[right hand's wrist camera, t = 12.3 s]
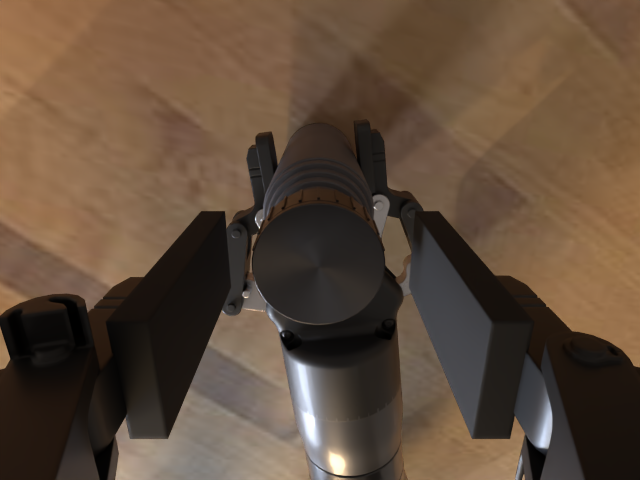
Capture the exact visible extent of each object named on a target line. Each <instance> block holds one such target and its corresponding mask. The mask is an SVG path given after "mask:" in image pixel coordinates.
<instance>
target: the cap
mask: <svg viewBox="0 0 640 480" xmlns="http://www.w3.org/2000/svg"><path fill="white" fill-rule="evenodd" d="M257 234H258V236H257V238H256V241H255V243H254V246H253V249H252V251H253V256H252V272H253V277H254V281H255V284H256V286H257V288H258V290H259V292H260V294H261V295H262V297H263V298H264V299H265V301H266V302H267V303H268V304H269V305H270V306H271V307H272V308H273V309H275V310H276V311H277V312H279V313H280V314H282V315H283V316H285V317H287V318H289V319H292V320H294V321H297V322H301V323H306V324H314V325H323V324H331V323H336V322H340V321H343V320H345V319H348V318H350V317H352V316H354V315H355V314H357V313H358V312H360V311H361V310H363V309H364V308H365V307H366V306H367V305H368V304H369V303H370V302H371V301H372V299H373V298H374V297H375V295H376V294H377V292H378V290H379V288H380V286H381V284H382V281H383V277H384V272H385V256H384V251H385V249H384V246H383V243H382V241H381V238H380V233H379V231H378V228H377V225H376V223H375V220H372V219H371V217H370V215H369V214H368V212H367V209H366V207H365V206H364V207H362V206H361V205H360V204H359V203H358V202H357V201H355V200H354V198H353V197H352V196H351V197H349V196H347V195H345V194H343V193H340V192H338V191H337V190H336V189H335V191H334V190H329V189H320V187H317V189H309V190H303V189H301V190H300V192H297V193H294V194H292V195H290V196H288V197H287V196H285V197H284V199H283V200H282V201H280V202H279V203H278V204H277V205H276V206H275V207H274V206H272V207H271V210H270V213H269V214H268V216H267V217H266V219H265V220H264V219H263V221H262V223H261V226H260V228H259V231H258V233H257Z"/></svg>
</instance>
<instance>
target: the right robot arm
mask: <svg viewBox="0 0 640 480" xmlns="http://www.w3.org/2000/svg"><path fill="white" fill-rule="evenodd" d="M230 289H231V278H230V266H229V254H228V243H227V231H226V219H225V211H201V212H200V213H199V214H198V216H197V217H196V218H195V219H194V220H193V221H192V223H191V224H190V225H189V226H188V227H187V228H186V229H185V231H184V232H183V233H182V234H181V235H180V236H179V237H178V239H177V240H176V241H175V242H174V243H173V244H172V246H171V247H170V248H169V249H168V250H167V251H166V252H165V254H164V255H163V256H162V257H161V258H160V259H159V260H158V262H157V263H156V264H155V265H154V266H153V267H152V269H151V270H150V271H149V272H148V273H147V274H146V275H145V277H130V278H128V279H126V280H125V281H123V282H121V283H119V284H117V285H115V286H114V287H113V288H112V289H111V290H110V291H109V292H108V293H107V294H106V295H105V296H104V297H103V299H101V300H100V301H99V302H98V303H97V304H96V305H95V306H94V309H91V310H90V311H89V312H88V313H87V308H86V304H85V300H84V299H83V298H81V297H80V296H78V295H72V294H52V295H47V296H42V297H37V298H34V299H31V300H28V301H25V302H22V303H19V304H17V305H16V306H14V307H12V308H10V309H8V310H6V311H5V312H4V313H3V314H2V315H1V316H0V327H1V330H2V334H3V337H4V340H5V343H6V346H7V349H8V353H9V356H10V361H9V363H8V365H7V366H6V368H5V369H1V370H0V480H115V476H116V469H117V462H118V455H119V452H118V445H117V441H116V436H115V434H116V432H117V431H118V429H119V427H120V425H121V424H122V422H123V420H124V418H125V417H126V422H127V427H128V431H129V436H130V439H168V437H169V435H170V432H171V430H172V428H173V425H174V423H175V420H176V418H177V416H178V413H179V411H180V408H181V406H182V404H183V401H184V399H185V396H186V394H187V392H188V389H189V387H190V384H191V382H192V380H193V377H194V375H195V373H196V370H197V368H198V365H199V363H200V361H201V358H202V356H203V353H204V351H205V349H206V346H207V344H208V341H209V339H210V337H211V334H212V332H213V329H214V327H215V325H216V322H217V320H218V318H219V315H220V313H221V310H222V308H223V306H224V303H225V301H226V298H227V296H228V294H229V291H230ZM409 289H410V291H411V294H412V296H413V298H414V301H415V303H416V306H417V308H418V310H419V313H420V315H421V318H422V320H423V322H424V325H425V327H426V329H427V332H428V334H429V337H430V339H431V341H432V344H433V346H434V349H435V351H436V353H437V356H438V358H439V361H440V363H441V365H442V368H443V370H444V373H445V375H446V377H447V380H448V382H449V385H450V387H451V389H452V392H453V394H454V396H455V399H456V401H457V404H458V406H459V408H460V411H461V413H462V416H463V418H464V420H465V423H466V425H467V428H468V430H469V432H470V435H471V437H472V439H510V436H511V431H512V427H513V422H514V417H515V416H516V418H517V420H518V421H519V423H520V425H521V427H522V428H523V430H524V432H525V436H524V441H523V445H522V449H521V454H520V458H519V463H518V467H517V472H516V477H515V480H522V477H523V475H525V480H640V368H639V367H635V366H633V364H632V362H631V360H630V359H629V358H628V356H627V355H626V354H625V353H624V352H623V351H622V350H621V349H619V348H618V347H616V346H615V345H613V344H612V343H610V342H608V341H606V340H603V339H601V338H598V337H596V336H593V335H589V334H585V333H581V332H572V331H571V330H570V329H569V328H568V327H567V326H566V325H565V324H564V322H563V321H562V320H561V319H560V318H559V317H558V316H557V315H556V314H555V313H554V312H553V311H552V310H551V309H550V308H549V307H546V304H545V303H544V302H543V301H542V300H541V299H540V298H537V295H536V294H535V293H534V292H533V291H532V290H531V289H530V288H529V287H528V286H527V285H526V284H524V283H522V282H520V281H518V280H516V279H515V278H513V277H511V276H495V275H494V274H493V273H492V272H491V271H490V270H489V269H488V267H487V266H486V265H485V264H484V263H483V262H482V261H481V259H480V258H479V257H478V256H477V255H476V254H475V252H474V251H473V250H472V249H471V248H470V247H469V246H468V244H467V243H466V242H465V241H464V240H463V239H462V238H461V236H460V235H459V234H458V233H457V232H456V231H455V229H454V228H453V227H452V226H451V225H450V224H449V223H448V221H447V220H446V219H445V218H444V217H443V216H442V214H441V213H440V212H439V211H415V219H414V231H413V242H412V254H411V266H410V278H409Z"/></svg>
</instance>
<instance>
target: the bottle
mask: <svg viewBox="0 0 640 480" xmlns="http://www.w3.org/2000/svg"><path fill="white" fill-rule="evenodd" d="M317 187H320V189H329V190H334V191H335V189H336V190H337V191H338V192H340V193H343V194H345V195H347V196H349V197H351V196H352V197H353V198H354V200H355V201H357V202H358V203H359V204H360V205H361V206H362V207H364V206H365V207H366V209H367V212H368V214H369V215H370V217H371V219H372V220H374V202H373V197H372V194H371V191H370V189H369V187H368V184H367V182H366V180H365V178H364V175H363V173H362V171H361V169H360V166H359V164H358V162H357V160H356V157H355V155H354V153H353V150H352V148H351V146H350V144H349V141H348V140H347V138H346V137H345V135H344V134H343V133H342V132H341V131H340V130H338V129H337V128H335V127H333V126H331V125H328V124H324V123H314V124H309V125H306V126H304V127H302V128H301V129H299V130H298V131H297V132H296V133H295V134H294V135H293V136H292V137H291V139H290V141H289V143H288V145H287V147H286V149H285V152H284V154H283V156H282V158H281V160H280V163H279V165H278V167H277V169H276V172H275V174H274V176H273V178H272V180H271V183H270V185H269V187H268V189H267V192H266V195H265V198H264V204H263V217H264V220H265V219H266V217H267V216H268V214H269V213H270V210H271V207H272V206H274V207H275V206H276V205H277V204H278V203H279V202H280V201H282V200H283V199H284V197H285V196H287V197H288V196H290V195H292V194H294V193H297V192H300V190H301V189H303V190H309V189H317Z"/></svg>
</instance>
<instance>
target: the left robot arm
mask: <svg viewBox="0 0 640 480" xmlns="http://www.w3.org/2000/svg"><path fill="white" fill-rule="evenodd" d="M354 132H355V142H356V153H357V162H358V164H359V166H360V169H361V171H362V173H363V175H364V178H365V180H366V182H367V184H368V187H369V189H370V191H371V194H372V197H373V202H374V220H375V223H376V225H377V228H378V231H379V233H380V238H381V241H382V233H383V229H384V225H385V222H386V218H387V216H391V217H396V218H400V221H401V224H402V227H403V229H404V232H405V235H406V238H407V240H408V243H409V246H410V249H411V252H412V242H413V231H414V219H415V211H423V209H422V207H421V205H420V204H419V203H418V201H417V200H416V199H415V197H414V196H413V195H412V194H411V193H410V192H408V191H401V192H400V191H396V190H392V189H390V188H388V187H387V176H386V162H385V148H384V140H383V138H382V136H381V134H380V132H379V131H378V130H376V129H374V130H370V124H369V121H368V120H367V119H366V120H358V121H354ZM247 164H248V169H249V175H250V180H251V185H252V190H253V196H254V201H255V205H254V206H253V207H251V208H249V209H247V210H241V211H238V212H237V213H236V214H235V216H234V217H233V221H232V222H231V223H230V224H229V226H228V227H227V229H226V231H227V243H228V254H229V266H230V278H231V289H230V291H229V294H228V296H227V298H226V301H225V303H224V306H223V308H222V311H223V312H224V313H225V314H227V315H229V316H235V315H238V314H239V313H240V311H241V309H247V310H256V311H264V312H267V315H268V317H269V318H270V319H271V320H272V321H273V322H274V324H275V325H276V327H277V329H278V331H279V336H280V341H281V346H282V351H283V356H284V362H285V367H286V372H287V378H288V383H289V388H290V394H291V399H292V404H293V409H294V415H295V420H296V424H297V427H298V430H299V433H300V436H301V438H302V441H303V444H304V448H305V454H306V459H307V464H308V470H309V474H310V480H408V479H407V476H406V474H405V471H404V468H403V453H402V440H401V425H402V416H403V405H402V390H401V376H400V362H399V348H398V334H397V312H398V310H399V308H400V306H401V304H402V302H403V296H406V295H409V294H411V291H410V289H409V278H410V266H411V255H408V256H407V257H406V258H405V259H404V262H403V266H404V270H403V273H402V274H401V275H400V276H399V277H396V276H395V275H394V274H393V273H392V272H391V271H390V270H389V269H388V268H387V267H386V266H385V272H384V277H383V281H382V284H381V286H380V288H379V290H378V292H377V294H376V295H375V297H374V298H373V299H372V301H371V302H370V303H369V304H368V305H367V306H366V307H365V308H364V309H363V310H361V311H360V312H358V313H357V314H355V315H354V316H352V317H350V318H348V319H345V320H343V321H340V322H336V323H331V324H323V325H314V324H306V323H301V322H297V321H294V320H292V319H289V318H287V317H285V316H283V315H282V314H280V313H279V312H277V311H276V310H275V309H273V308H272V307H271V306H270V305H269V304H268V303H267V302H266V301H265V299H264V298H263V297H262V295H261V294H260V292H259V290H258V288H257V286H256V284H255V281H254V277H253V274H251V273H249V268H250V257H251V245H252V235H254V234H256V233H258V231H259V228H260V226H261V223H262V221H263V219H264V217H263V204H264V198H265V195H266V192H267V189H268V187H269V185H270V183H271V180H272V178H273V176H274V174H275V172H276V169H277V167H278V164H277V158H276V152H275V146H274V140H273V135H272V132H264V133H259V134H258V135H257V136H256V145H252V146H251V147H250V148H249V149H248V154H247Z"/></svg>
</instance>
